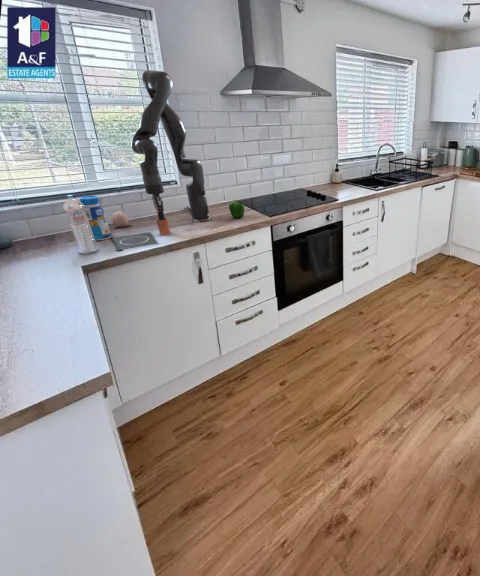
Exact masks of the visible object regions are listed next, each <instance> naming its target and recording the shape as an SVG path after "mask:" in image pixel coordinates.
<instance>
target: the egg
mask: <svg viewBox="0 0 480 576" xmlns="http://www.w3.org/2000/svg"><path fill="white" fill-rule="evenodd" d="M111 222H112V224H113V225H115V227H117V228H124V227H126V226H128V224H129V217H128V216H127V215H126V213H124V212H122V211H115V212H113V214H112V216H111Z"/></svg>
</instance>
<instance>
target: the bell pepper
mask: <svg viewBox="0 0 480 576" xmlns="http://www.w3.org/2000/svg"><path fill="white" fill-rule="evenodd" d="M228 209H229V212H230V215H231V216H232V218H234V219H238V218H243V217H244V215H245V205H244V203H243V202H241V203H240V202H238V200H237V199H234V202H231V204H229V205H228Z"/></svg>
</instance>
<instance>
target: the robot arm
mask: <svg viewBox="0 0 480 576" xmlns="http://www.w3.org/2000/svg"><path fill="white" fill-rule="evenodd" d="M141 78H142V79H141V80H142V83H143V86H144V88H145V90H146V92H147V94H148V97H149V98H150V100H151V101H149V103H148V105H147V106H145V108H144V110H143V112H142V114H141V116H140V121H139V125H138V128H137V129H136V131H135V133H134V134H133V136H132V138H131V142H130V145H131V150H132V151H133V152H134V153H135V154H137V155H143V156H144V159H142V160H140V161H139V167H140V171H141V175H142V176H141V177H142V182H143V185H144V190H145V193H146V194H147V195H152V196H151V198H150V199H151V200H152V205H153V206H154V209H156V208H157V210H156V212H157V211H158V214H157V216H158V215H159V217H158V218H159V219H164V218H165V214H164V211H165V209H164V202H163V197H162V196H161V195H160V194H163V193H164V192H165V190H164V186H163V181H162V177H161V174H160V169H159V167H158V154H159V150H158V146H157V144H156V142H155V141H154V139H151V138H153V137H156V135H157V134H158V129H159V125H160V122H161V126H162V127H163V131H164V133H165V135H166V137H167V139H168V142H169V145H170V147H171V150H172V152H173V156H174V159H175V163H176V166H177V169H178V172H179V174H180V175H182V176H183V177H188V178H189V177H190V178H192V180H191V182H188V183H186V184H185V190H186V194H187V199H188V203H189V204H188V205H189V207H188V206H186V207H187V208H185V207H184V210H189V212H190V213H191V220H192V221H194V222H206V221H208V220H211V216H210V211H209V204H208V200H207V193H206V189H205V177H204V176H205V175H204V169H203V164H202V163H201V161H200V160H198V159H194V158H187V156H186V154H185V149H184V148H185V143H186V139H187V131H186V129H185V126H184V123H183V121H182V119H181V117H180V116H179V115H178V113H176V112H175V111H174V109H173V108H172V107H171V106H170V105H169V103H168V100H169V98H170V96H171V93H172V90H173V79H172V77H171V76H170V74H169V73H167V72H165V71H162V70H144V71H143V73H142V75H141ZM159 208H161V209H159Z"/></svg>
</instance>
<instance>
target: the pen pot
mask: <svg viewBox="0 0 480 576" xmlns="http://www.w3.org/2000/svg"><path fill="white" fill-rule="evenodd" d="M164 219H165V220H159V217H158V218H156V224H157V228H158V232H159V235H160V236H167V235H170V234H171V227H170V225H169V221H168V218H167V217H164Z"/></svg>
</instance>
